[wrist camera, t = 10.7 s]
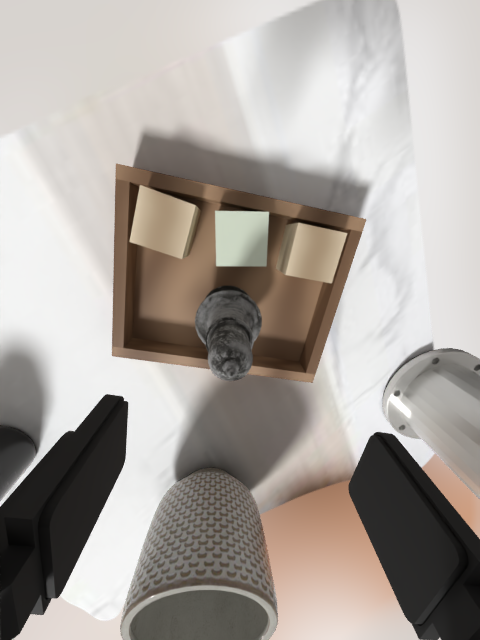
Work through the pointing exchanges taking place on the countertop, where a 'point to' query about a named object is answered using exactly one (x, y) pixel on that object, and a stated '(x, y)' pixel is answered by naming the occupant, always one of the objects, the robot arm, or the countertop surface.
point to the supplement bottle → (13, 457)
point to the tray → (220, 281)
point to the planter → (203, 566)
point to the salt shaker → (228, 331)
